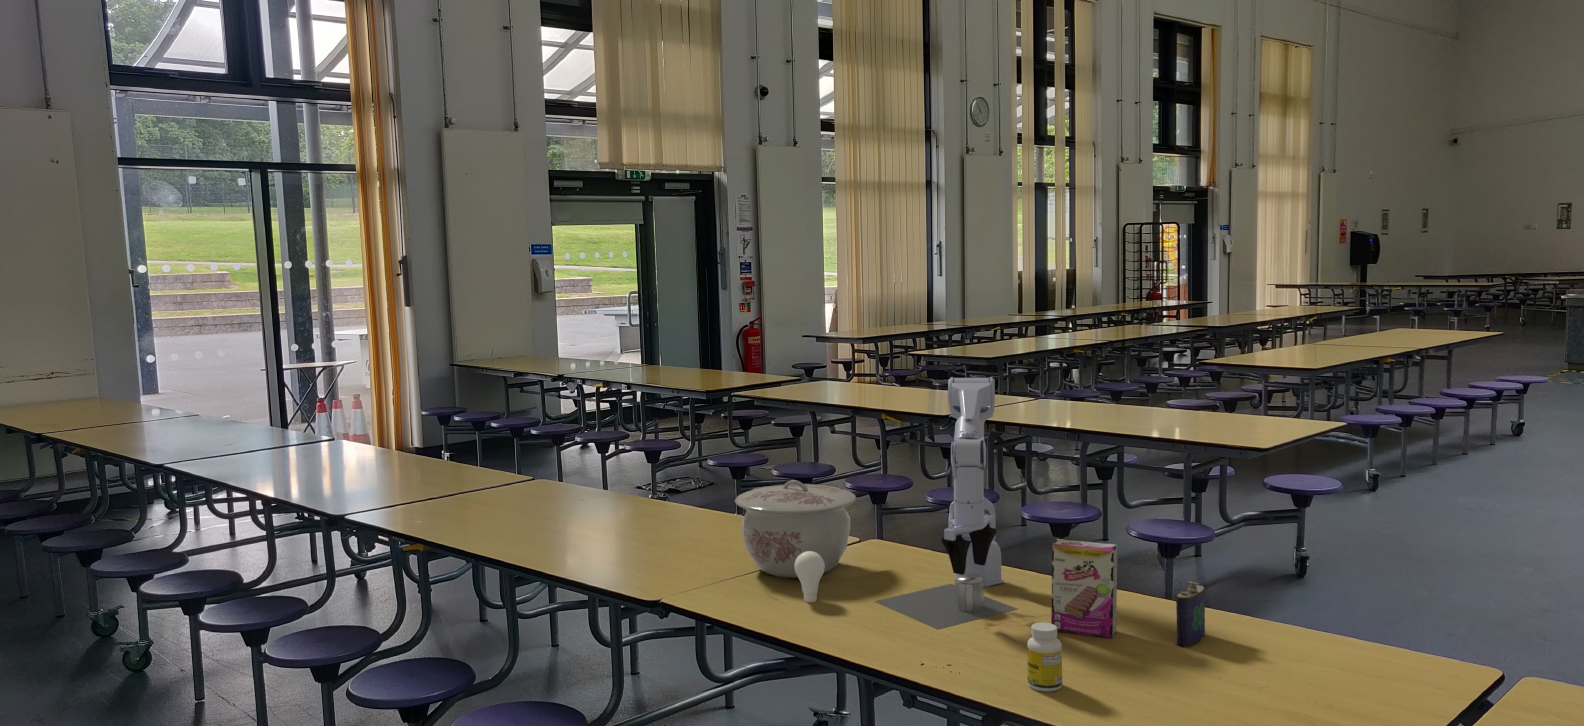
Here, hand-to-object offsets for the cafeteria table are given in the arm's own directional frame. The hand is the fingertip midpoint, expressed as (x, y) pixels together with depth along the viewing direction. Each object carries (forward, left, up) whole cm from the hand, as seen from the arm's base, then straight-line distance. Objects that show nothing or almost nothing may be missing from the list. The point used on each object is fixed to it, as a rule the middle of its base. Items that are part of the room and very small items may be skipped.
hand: (969, 568), depth 200 cm
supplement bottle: (+14, +34, -9) cm, 38 cm away
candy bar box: (-10, +20, -9) cm, 24 cm away
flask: (-22, +34, -9) cm, 41 cm away
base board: (+3, -4, -9) cm, 10 cm away
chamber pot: (+12, -45, -9) cm, 47 cm away
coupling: (0, 0, -8) cm, 8 cm away
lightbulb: (+23, -22, -9) cm, 33 cm away
